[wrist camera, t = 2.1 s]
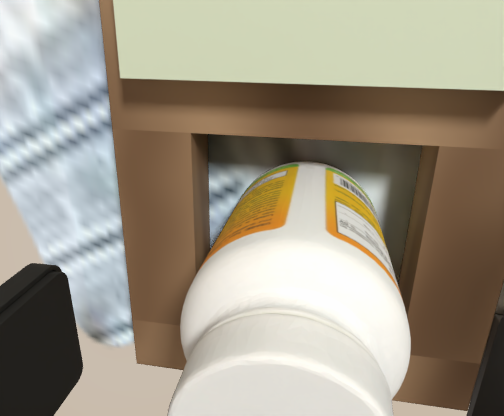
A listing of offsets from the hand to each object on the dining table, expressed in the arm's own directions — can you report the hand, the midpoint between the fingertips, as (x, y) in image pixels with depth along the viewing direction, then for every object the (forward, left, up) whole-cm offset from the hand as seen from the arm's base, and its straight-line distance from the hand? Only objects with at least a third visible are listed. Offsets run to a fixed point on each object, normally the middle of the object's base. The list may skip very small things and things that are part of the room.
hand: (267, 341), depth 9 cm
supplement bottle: (0, 0, -8) cm, 8 cm away
